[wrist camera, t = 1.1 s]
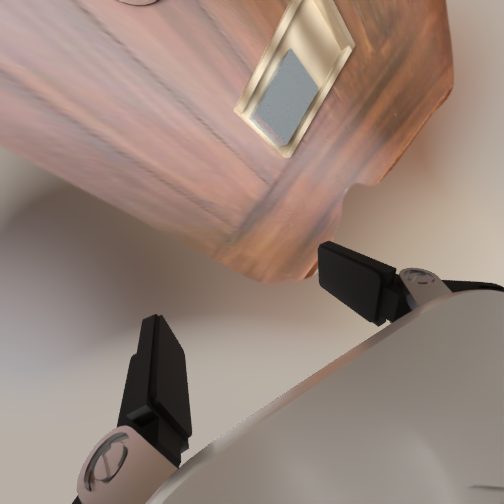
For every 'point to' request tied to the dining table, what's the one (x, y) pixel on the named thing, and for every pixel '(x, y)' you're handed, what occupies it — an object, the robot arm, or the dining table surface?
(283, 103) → the cover plate
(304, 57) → the tray
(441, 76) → the dining table surface
